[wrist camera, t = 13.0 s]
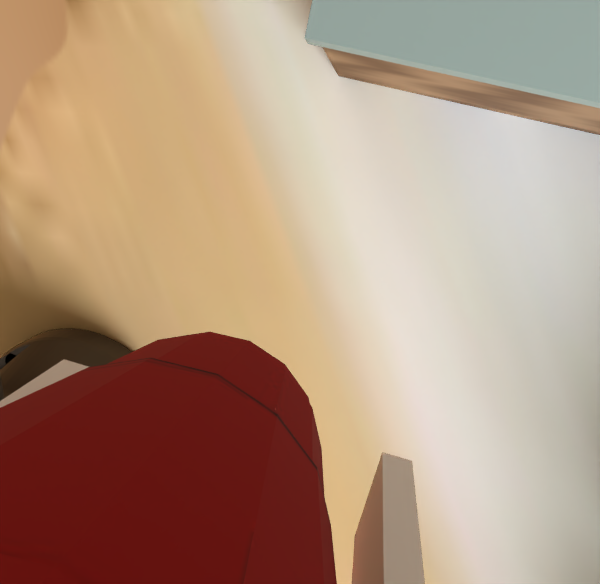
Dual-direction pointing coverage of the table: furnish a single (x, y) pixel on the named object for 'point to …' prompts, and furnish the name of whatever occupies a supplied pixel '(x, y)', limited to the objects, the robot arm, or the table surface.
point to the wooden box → (466, 91)
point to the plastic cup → (166, 473)
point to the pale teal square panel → (474, 40)
